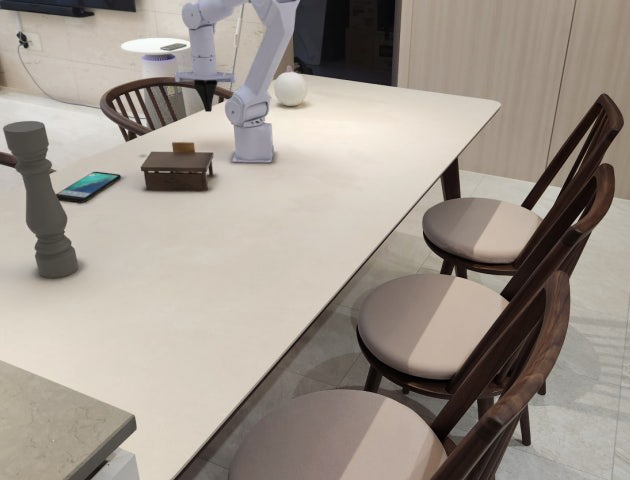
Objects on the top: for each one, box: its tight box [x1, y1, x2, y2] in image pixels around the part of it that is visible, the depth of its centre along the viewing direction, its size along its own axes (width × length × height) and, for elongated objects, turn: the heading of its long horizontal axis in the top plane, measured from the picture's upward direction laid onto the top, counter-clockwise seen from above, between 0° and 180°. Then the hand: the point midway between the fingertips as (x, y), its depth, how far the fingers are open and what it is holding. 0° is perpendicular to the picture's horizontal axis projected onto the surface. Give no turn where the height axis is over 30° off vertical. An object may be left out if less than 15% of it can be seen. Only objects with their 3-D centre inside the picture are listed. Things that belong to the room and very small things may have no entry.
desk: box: [140, 151, 214, 192], centre depth 143 cm, size 14×10×6 cm
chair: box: [169, 141, 196, 173], centre depth 146 cm, size 5×6×7 cm
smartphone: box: [55, 171, 122, 203], centre depth 139 cm, size 7×1×15 cm
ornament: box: [273, 65, 308, 107], centre depth 199 cm, size 10×10×12 cm
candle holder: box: [2, 120, 79, 279], centre depth 103 cm, size 6×6×25 cm
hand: (208, 110), depth 162 cm, fingers closed
